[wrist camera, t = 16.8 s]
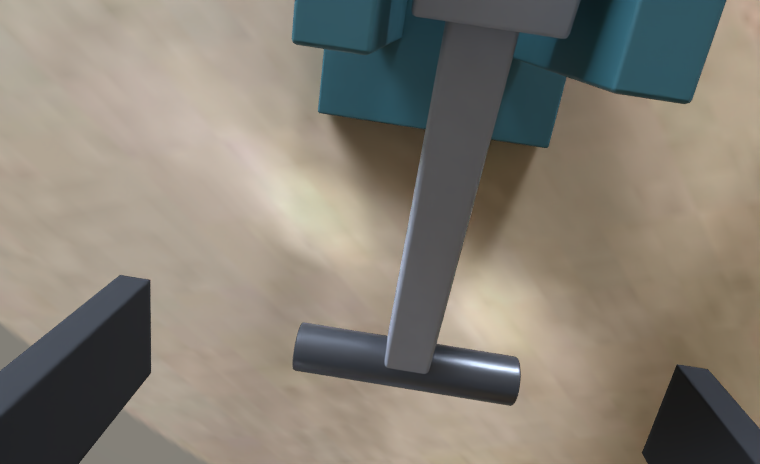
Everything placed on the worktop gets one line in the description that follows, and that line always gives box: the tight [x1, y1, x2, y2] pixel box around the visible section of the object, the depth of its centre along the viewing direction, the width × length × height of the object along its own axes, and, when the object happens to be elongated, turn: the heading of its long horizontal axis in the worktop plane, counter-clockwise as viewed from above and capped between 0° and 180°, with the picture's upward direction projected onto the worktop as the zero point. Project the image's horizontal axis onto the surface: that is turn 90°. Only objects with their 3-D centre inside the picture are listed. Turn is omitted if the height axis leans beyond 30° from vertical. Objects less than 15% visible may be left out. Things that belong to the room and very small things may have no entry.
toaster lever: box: [293, 0, 581, 406], centre depth 10 cm, size 12×6×2 cm, turn 172°
